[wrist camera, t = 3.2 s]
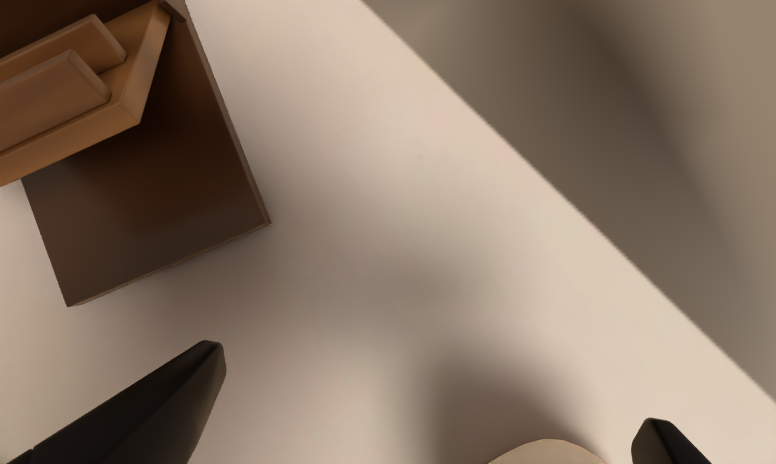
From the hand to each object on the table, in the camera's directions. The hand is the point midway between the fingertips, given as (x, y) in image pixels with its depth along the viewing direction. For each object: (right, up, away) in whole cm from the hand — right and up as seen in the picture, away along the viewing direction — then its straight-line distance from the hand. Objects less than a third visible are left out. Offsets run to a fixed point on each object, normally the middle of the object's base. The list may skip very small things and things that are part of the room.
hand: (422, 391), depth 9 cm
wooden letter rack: (-16, +9, +11) cm, 21 cm away
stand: (-15, +8, +16) cm, 23 cm away
